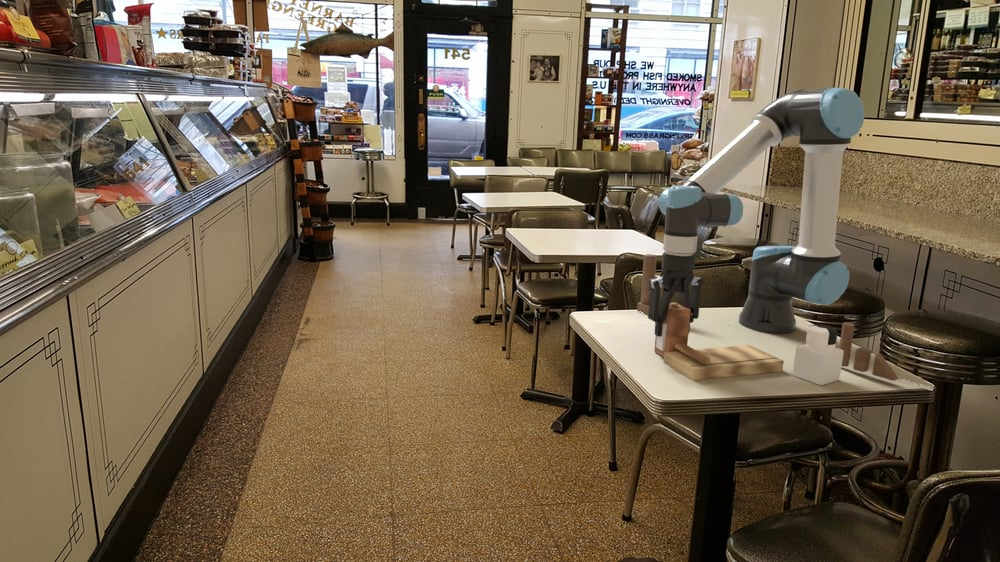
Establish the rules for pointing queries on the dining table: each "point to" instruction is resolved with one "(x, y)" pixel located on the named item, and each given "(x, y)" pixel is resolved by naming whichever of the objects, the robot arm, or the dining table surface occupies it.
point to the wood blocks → (866, 358)
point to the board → (724, 362)
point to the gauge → (679, 333)
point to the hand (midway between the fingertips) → (670, 347)
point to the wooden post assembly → (648, 274)
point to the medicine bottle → (819, 356)
